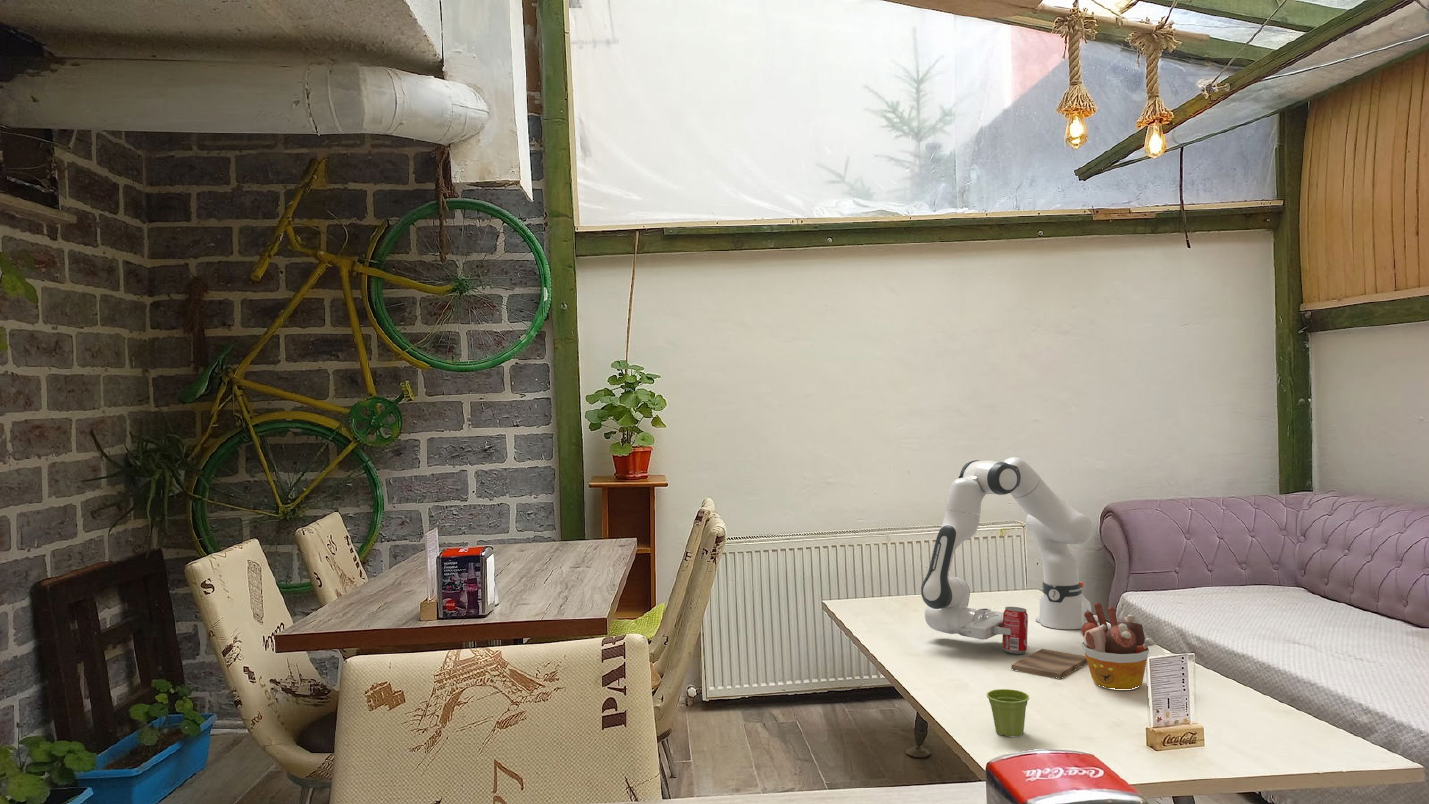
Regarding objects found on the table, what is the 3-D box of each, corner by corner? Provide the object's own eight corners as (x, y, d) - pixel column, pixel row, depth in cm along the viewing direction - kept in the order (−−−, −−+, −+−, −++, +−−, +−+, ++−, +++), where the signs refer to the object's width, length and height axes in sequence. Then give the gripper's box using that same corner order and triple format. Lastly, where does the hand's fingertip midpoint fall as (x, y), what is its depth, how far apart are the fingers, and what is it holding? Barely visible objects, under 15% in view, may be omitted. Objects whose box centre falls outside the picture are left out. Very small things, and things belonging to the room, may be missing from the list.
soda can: (1028, 655, 258) (1030, 612, 258) (1003, 653, 259) (1005, 609, 260) (1024, 650, 265) (1026, 607, 265) (1000, 647, 266) (1002, 605, 266)
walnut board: (1042, 653, 260) (1042, 648, 260) (1089, 661, 250) (1089, 656, 250) (1011, 669, 246) (1011, 664, 246) (1060, 679, 236) (1059, 673, 236)
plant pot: (981, 726, 204) (980, 690, 204) (1020, 723, 205) (1018, 687, 205) (998, 741, 195) (996, 703, 195) (1038, 738, 195) (1036, 700, 195)
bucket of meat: (1166, 695, 220) (1162, 617, 220) (1101, 697, 220) (1097, 619, 220) (1129, 671, 240) (1126, 599, 240) (1070, 673, 240) (1066, 602, 240)
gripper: (956, 619, 264) (998, 626, 254) (988, 607, 278) (1029, 613, 268) (957, 640, 264) (999, 647, 254) (989, 626, 278) (1030, 633, 268)
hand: (1015, 629), depth 261 cm, fingers closed on soda can, 4 cm apart
